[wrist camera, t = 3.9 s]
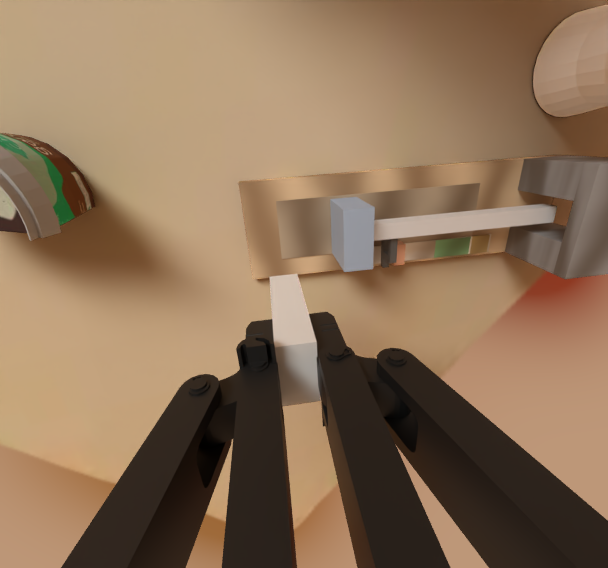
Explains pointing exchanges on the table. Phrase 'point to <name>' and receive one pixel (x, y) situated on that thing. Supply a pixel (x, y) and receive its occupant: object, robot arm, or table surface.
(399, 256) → the orange small block
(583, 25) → the cup
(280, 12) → the table surface
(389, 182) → the gauge bed
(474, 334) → the table surface
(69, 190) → the food container
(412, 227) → the grey hammer
